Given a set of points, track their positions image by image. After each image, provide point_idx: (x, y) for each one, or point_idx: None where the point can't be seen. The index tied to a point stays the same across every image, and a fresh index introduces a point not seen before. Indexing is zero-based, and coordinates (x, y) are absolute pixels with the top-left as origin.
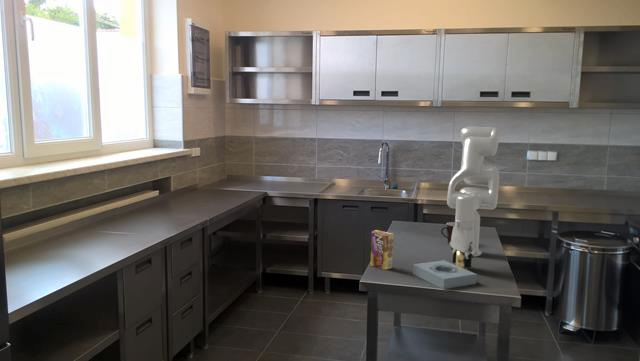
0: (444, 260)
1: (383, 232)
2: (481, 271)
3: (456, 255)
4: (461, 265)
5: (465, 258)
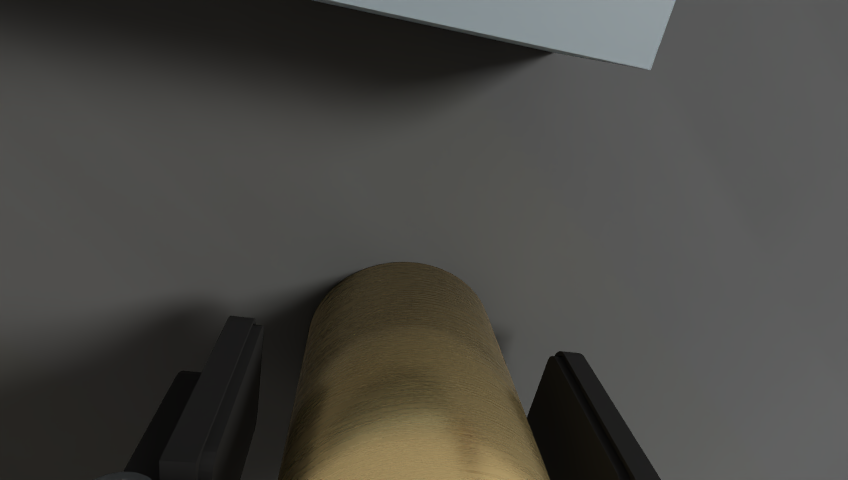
0: (628, 62)
1: None
2: None
3: (507, 457)
4: (335, 330)
5: (188, 475)
